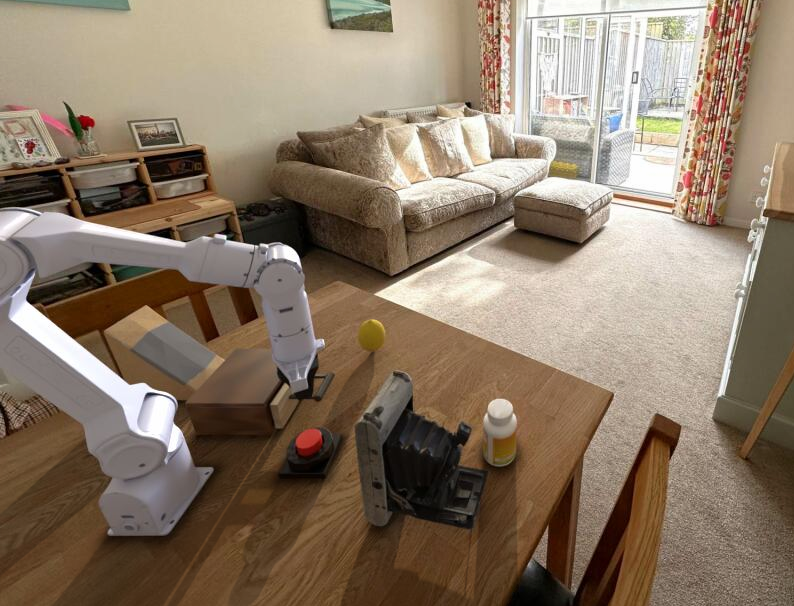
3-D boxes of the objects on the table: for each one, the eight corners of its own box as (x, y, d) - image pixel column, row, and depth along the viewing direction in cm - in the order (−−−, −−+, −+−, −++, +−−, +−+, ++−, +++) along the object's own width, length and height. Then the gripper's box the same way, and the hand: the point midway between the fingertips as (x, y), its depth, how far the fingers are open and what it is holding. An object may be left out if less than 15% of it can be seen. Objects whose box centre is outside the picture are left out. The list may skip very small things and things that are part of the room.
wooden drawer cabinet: (308, 377, 81) (302, 348, 78) (271, 435, 68) (263, 403, 66) (244, 376, 81) (236, 348, 78) (196, 435, 68) (184, 403, 65)
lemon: (355, 356, 87) (350, 325, 84) (370, 340, 92) (366, 310, 89) (377, 361, 86) (373, 330, 83) (391, 345, 91) (388, 315, 88)
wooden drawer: (343, 376, 80) (339, 354, 78) (316, 428, 69) (311, 405, 67) (255, 375, 80) (250, 354, 78) (214, 428, 68) (206, 404, 66)
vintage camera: (469, 555, 53) (475, 444, 46) (362, 525, 55) (350, 415, 48) (488, 486, 62) (495, 384, 55) (394, 463, 64) (389, 362, 57)
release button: (316, 456, 62) (315, 448, 61) (293, 456, 62) (291, 448, 61) (326, 436, 65) (324, 428, 65) (303, 436, 65) (302, 428, 65)
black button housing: (325, 478, 61) (322, 465, 60) (279, 479, 61) (275, 465, 60) (342, 439, 68) (340, 426, 67) (300, 439, 68) (297, 425, 67)
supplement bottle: (522, 448, 67) (524, 404, 63) (503, 474, 63) (505, 428, 59) (495, 433, 70) (496, 389, 66) (476, 456, 66) (476, 411, 62)
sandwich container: (210, 402, 74) (188, 335, 69) (129, 398, 75) (101, 331, 69) (241, 369, 82) (223, 307, 77) (168, 366, 83) (145, 303, 77)
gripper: (324, 345, 55) (338, 419, 60) (315, 295, 67) (327, 360, 72) (265, 361, 52) (284, 438, 57) (266, 305, 64) (282, 373, 69)
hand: (305, 395), depth 64 cm, fingers closed
